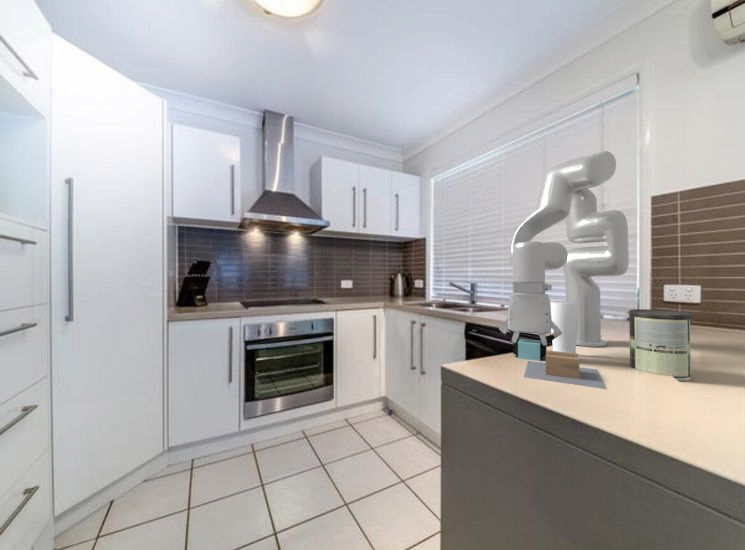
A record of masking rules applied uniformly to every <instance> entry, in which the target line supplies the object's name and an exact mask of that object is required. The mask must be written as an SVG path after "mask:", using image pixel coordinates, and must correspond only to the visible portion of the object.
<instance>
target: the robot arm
mask: <svg viewBox="0 0 745 550" xmlns="http://www.w3.org/2000/svg"><path fill="white" fill-rule="evenodd" d="M616 161H617V160H616V157H615V155H614V154H613V153H612V152H611V151H608V150H603V151H599V152H596V153H592V154H591V153H590V154H588V155H585V156H581V157H577V158H574V159H570V160H566V161H563V162H560V163H559V164H557V165H555V166H553V167H550V168H549V169H548V170H547V171H546V172H545V174H544V176H543V179H542V184H541V187H540V192H539V196H538V199H537V205H536V208H535V210H534V211H533V212H532V213H531V214H530V215H528V217H527V218H526V219H525V220H524V221H523V222H522V223H521V224H520V225H519V226H518V228H517V229H516V231H515V232H514V235H513V237H512V242H511V245H510V250H509V263H510V265H511V266H512V293H510V295H509V299H508V307H507V308H508V309H507V317H506V318H505V319H506V320H504V322H503V323H501V325H500V326H499V327H498V330H499V331H500V332H501V333H503V334H504V335H505V336H506V337H507V338H508V339H509V340H510V341H511V343H512V354H513V355H515V358H518V341H519V336H520V333H526V334H536V335H537V334H538V336H539V337H540V341H541V344H540V361H544V358H545V359H546V350H547V345H550V344H551V342H552V340H554V339H555V338H557V337H558V336H560V335H561V334H562V331H561V330H560V329H559V328H558V327H557V325H556V324H555V323H554V322H553V321H552V317H551V305H550V302H551V299H550V295H549V294H546V292H547V291H552V289H553V287H552V284H547V283H546V271H551V270H552V271H553V270H559V269H562V270H563V274H564V281H565V282H564V283H565V301H566V302H577V303H578V328H577V339H576V346H580V347H594V348H595V347H596V348H598V347H599V348H600V347H606V346H607V345H608V341H607V340H605V339H602V337H601V336H602V335H601V334H602V333H601V331H602V330H601V327H602V323H601V322H602V320H601V289H600V286H599V285H598V284H597V283H596V282H595V281H594V279H592V277H617V276H619V277H620V276H623V275H625V274H626V273H627V271H628V270H629V263H630V261H629V260H630V256H629V254H630V253H629V251H630V250H629V228H628V227H629V225H628V220H627V217H626V215H625V214H624V212H622V211H620V210H616V209H614V210H613V209H612V210H611V209H610V210H604V211H598V204H597V203H598V202H597V201H598V200H597V196H596V194H595V193H594V192H593V191H592V190H590V189H592V188H595V187H598V186H600V185H602V184H604V183H606V182H608V181H609V180H610V179H611V178H612V177H613V176H614V174H615V173H616V170H617V162H616ZM564 220H565V225H566V226H565V228H566V230H565V231H566V238H567V239H568V241H569V242H570V243H572V244H590V243H604V242H605V243H607V245H602V246H598V245H597V246H586V247H584V246H583V247H574V248H571V249H569V250H567V249H566V246H564V245H563V244H562V243H560V242H556V241H547V242H540V241H538V240H537V241H532V240H533V239H534V238H535V237H536V236H537V235H539V234H540V233H542V232H543V231H546V230H547V229H549V228H551V227H554V226H555V225H558V224H559V223H561V222H562V221H564ZM507 327H508V328H507ZM551 328H552V329H553V330H554V332H553V333H552V334H551ZM547 334H549V335H547Z"/></svg>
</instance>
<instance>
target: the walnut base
mask: <svg viewBox="0 0 745 550" xmlns="http://www.w3.org/2000/svg"><path fill="white" fill-rule="evenodd" d="M545 363H546V375H552V376H559V377H567V378H574V379H580V378H579V367H580V357H579V354H578V353H577V352H576V353H569V352H559V351H553V350H547V349H546V358H545Z"/></svg>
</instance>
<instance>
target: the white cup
mask: <svg viewBox="0 0 745 550" xmlns="http://www.w3.org/2000/svg"><path fill="white" fill-rule="evenodd" d="M550 305H551V317H552V321H553V322H554V323H555V324H556V325H557V327H558V328H559V329H560V330H561V331H562V334H561V335H560V336H558V337H557V338H555V339H554V340H552V341H551V342H552V351H559V352H569V353H577V352H576V349H577V345H576V339H577V328H578V303H577V302H566V300H565V301H563V300H562V301H560V300H559V301H557V300H556V301H554V300H553V301H552V300H550ZM553 332H554V330H553V329H552V328H551V332H550V334H552V333H553Z"/></svg>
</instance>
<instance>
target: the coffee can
mask: <svg viewBox="0 0 745 550" xmlns="http://www.w3.org/2000/svg"><path fill="white" fill-rule="evenodd" d="M628 315H629V317H628V319H629V320H628V321H629V326H628V327H629V366H630V367H631V368H632V369H635V370H638V371H641V372H644V373H649V374H654V375H660V376H667V377H673V378H674V379H675V381H677V382H686V381H691V380H692V371H691V370H692V367H691V366H692V365H691V363H692V361H691V317H692V314H691V313H690V312H688V311H687V312H686V311H681V310H680V311H678V310H667V309H648V308H647V309H645V308H644V309H638V308H636V309H629V310H628Z"/></svg>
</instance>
